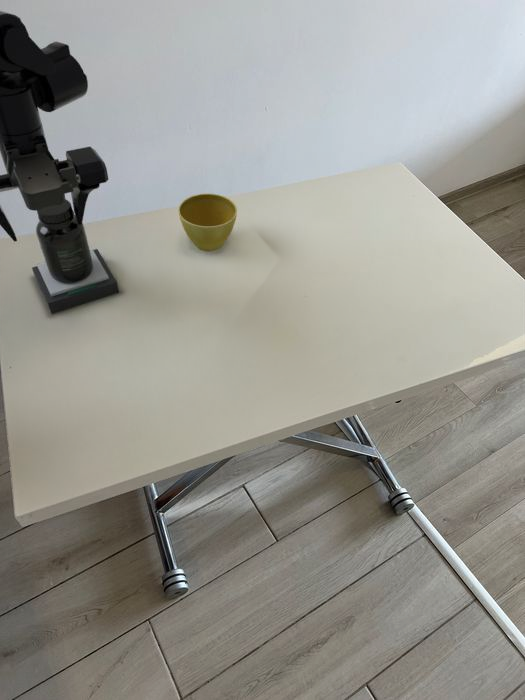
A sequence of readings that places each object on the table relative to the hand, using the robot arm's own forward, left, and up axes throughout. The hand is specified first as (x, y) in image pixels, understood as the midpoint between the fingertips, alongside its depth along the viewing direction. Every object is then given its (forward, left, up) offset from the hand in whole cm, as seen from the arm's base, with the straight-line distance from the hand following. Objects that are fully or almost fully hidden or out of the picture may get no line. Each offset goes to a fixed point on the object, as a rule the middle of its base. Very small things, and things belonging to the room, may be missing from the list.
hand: (48, 231), depth 77 cm
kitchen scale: (+2, +2, -13) cm, 13 cm away
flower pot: (+27, +2, -13) cm, 29 cm away
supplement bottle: (+2, +2, -10) cm, 10 cm away
